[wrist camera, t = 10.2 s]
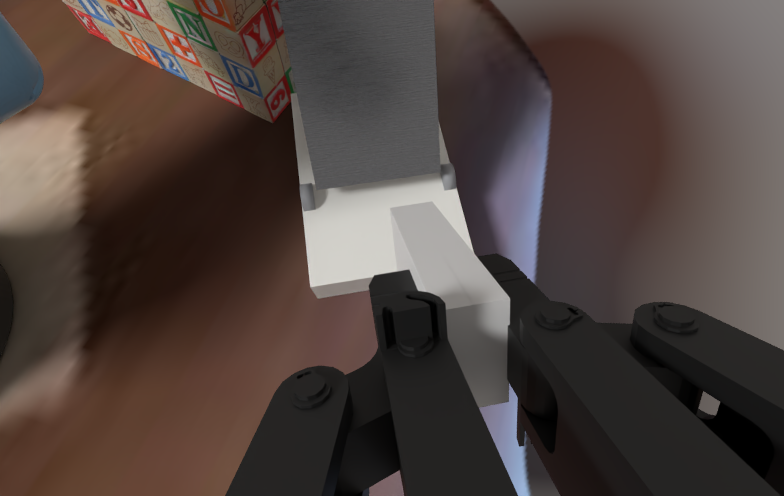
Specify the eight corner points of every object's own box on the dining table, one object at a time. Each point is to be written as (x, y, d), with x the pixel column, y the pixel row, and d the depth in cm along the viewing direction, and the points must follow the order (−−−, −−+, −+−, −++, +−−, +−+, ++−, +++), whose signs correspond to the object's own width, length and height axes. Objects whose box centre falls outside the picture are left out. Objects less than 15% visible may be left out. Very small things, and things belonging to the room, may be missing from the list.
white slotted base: (467, 273, 29) (490, 236, 22) (317, 298, 28) (297, 267, 22) (423, 103, 35) (432, 33, 28) (298, 119, 34) (277, 51, 27)
